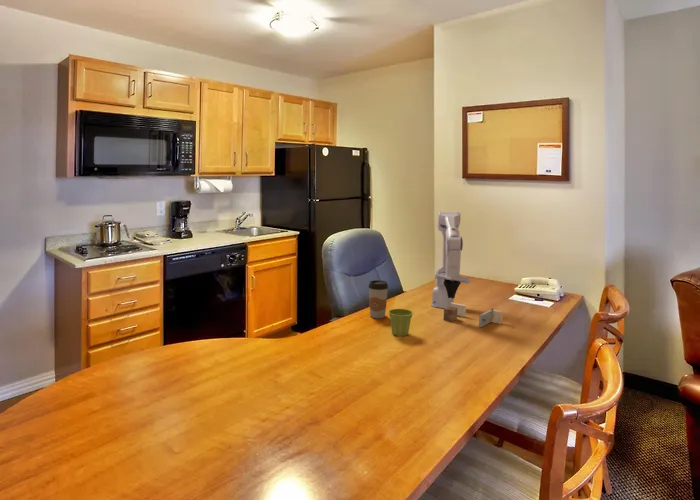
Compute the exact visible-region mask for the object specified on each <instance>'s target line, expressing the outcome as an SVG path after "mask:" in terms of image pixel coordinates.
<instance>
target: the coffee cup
mask: <svg viewBox="0 0 700 500" xmlns="http://www.w3.org/2000/svg"><path fill="white" fill-rule="evenodd" d="M388 289H389V285H388V282H387V281H385V280H379V279H377V280H375V279H374V280H370V281H369V283H368V295H369V296H368V299H369V300H368V301H369V304H368V305H369V315H370V317H371V318H372V319H383V318H384V317H385V316H386V309H387V301H388Z"/></svg>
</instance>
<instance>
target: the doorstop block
mask: <svg viewBox="0 0 700 500" xmlns="http://www.w3.org/2000/svg"><path fill="white" fill-rule="evenodd" d="M457 319H458V316H457V308H456V307H450V306H448V307H446V308H443V321H447V322H451V323H453V322H455V321H456V320H457Z"/></svg>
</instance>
